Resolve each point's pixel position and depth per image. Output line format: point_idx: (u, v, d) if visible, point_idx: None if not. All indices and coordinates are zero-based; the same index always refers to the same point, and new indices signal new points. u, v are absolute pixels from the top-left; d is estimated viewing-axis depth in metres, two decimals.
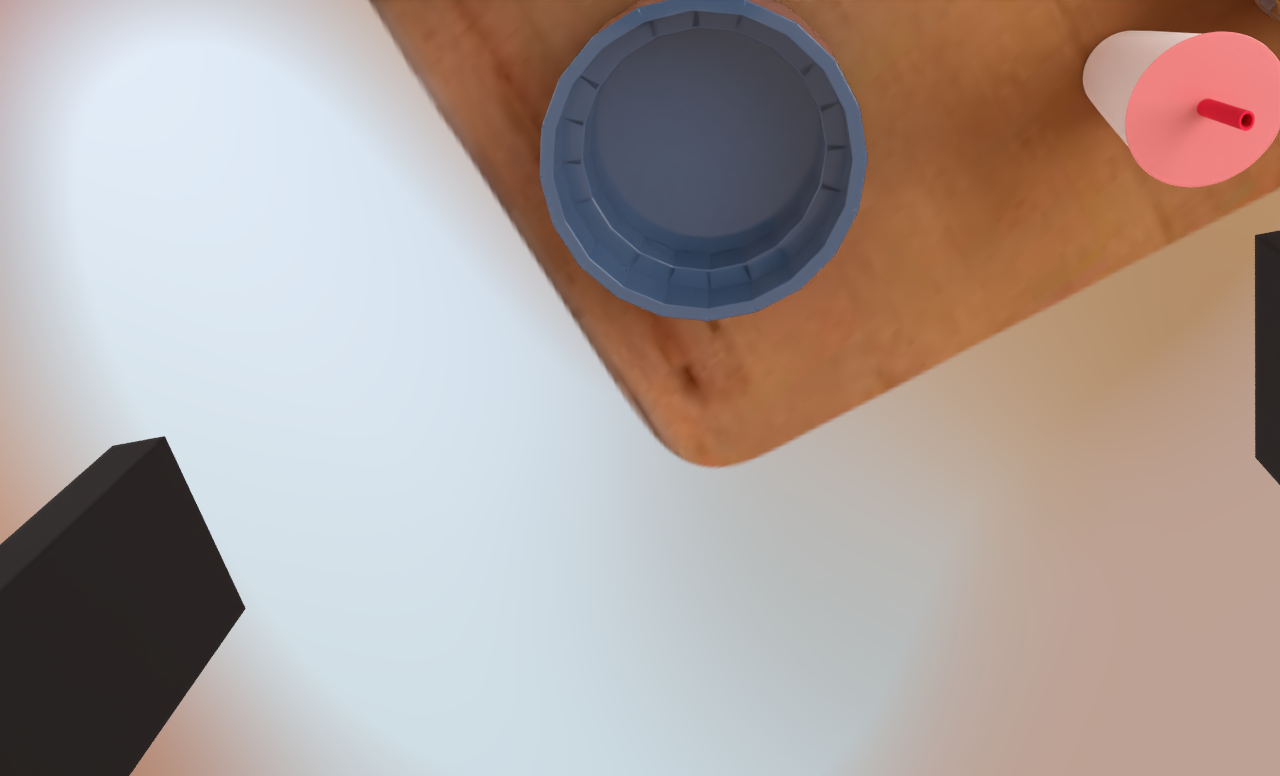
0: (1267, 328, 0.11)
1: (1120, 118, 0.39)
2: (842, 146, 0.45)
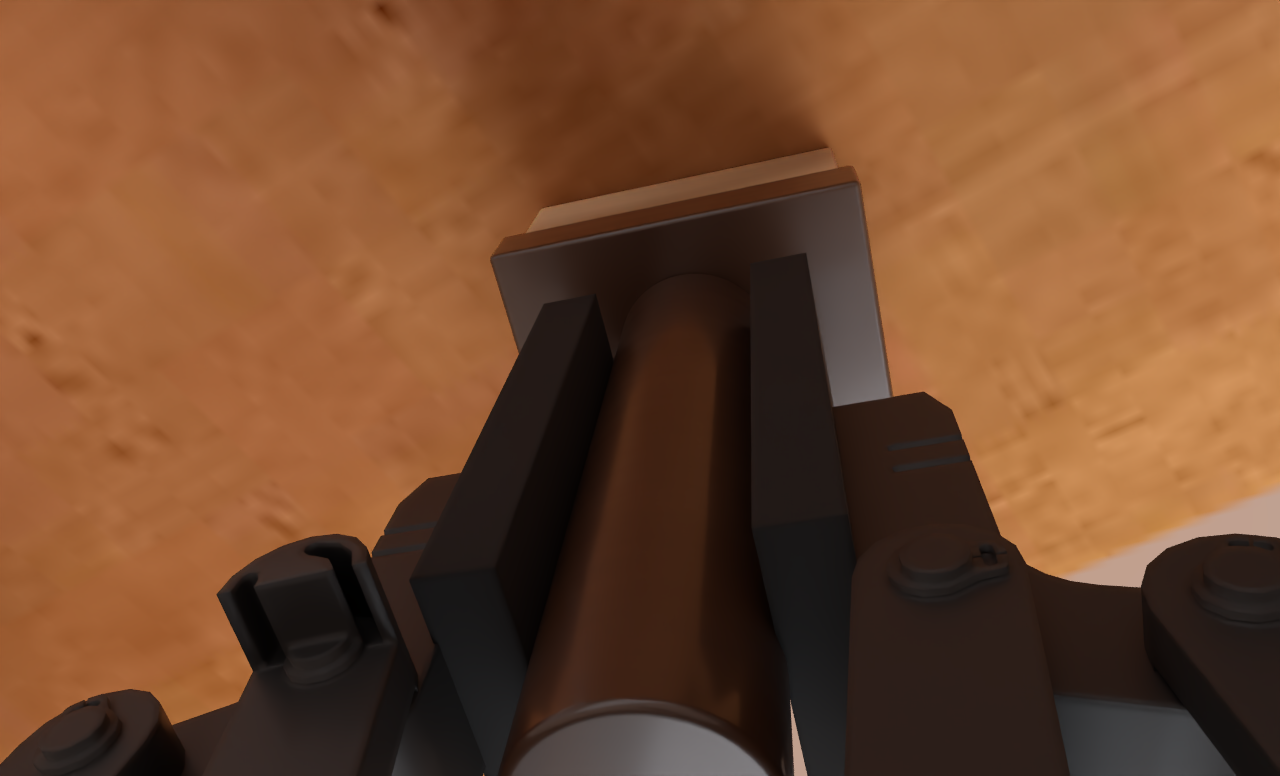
0: None
1: None
2: None
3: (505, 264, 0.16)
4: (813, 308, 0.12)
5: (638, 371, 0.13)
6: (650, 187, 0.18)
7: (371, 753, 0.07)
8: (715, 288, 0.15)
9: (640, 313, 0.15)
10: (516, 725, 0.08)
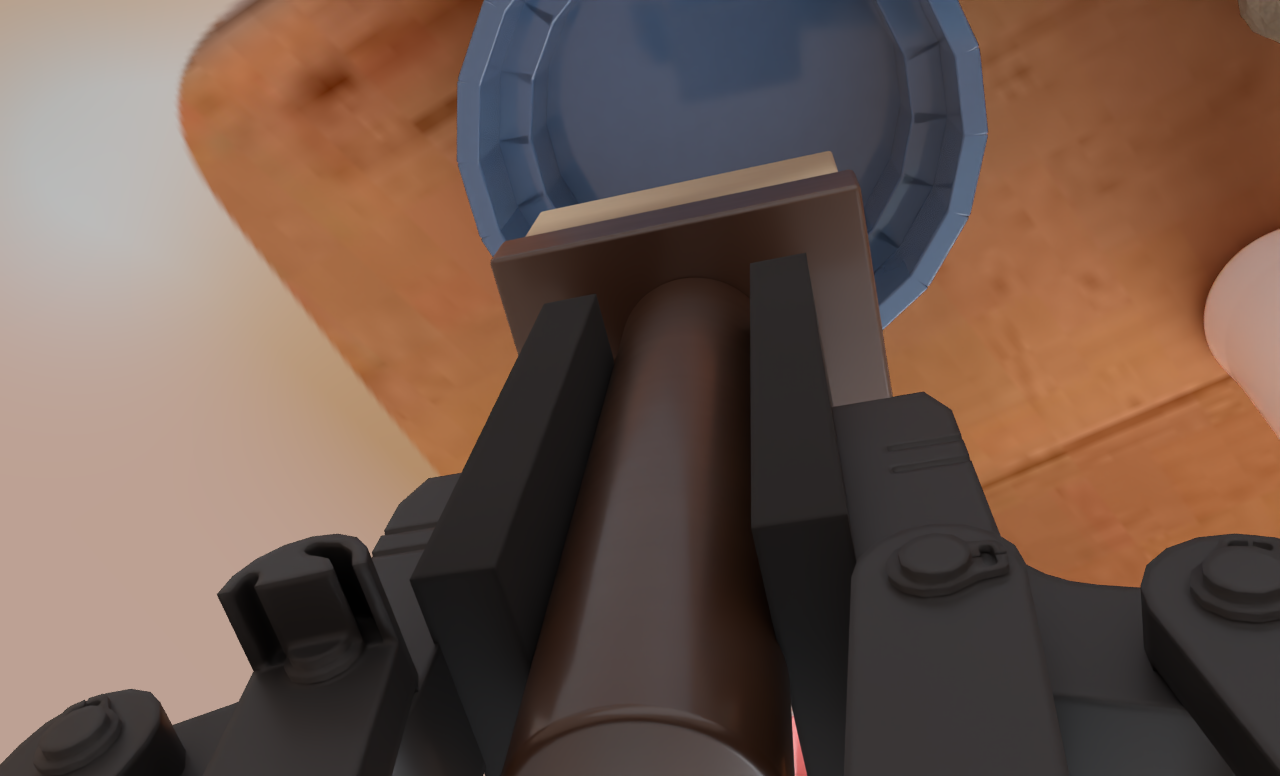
0: None
1: None
2: None
3: (505, 268, 0.16)
4: (813, 308, 0.12)
5: (639, 375, 0.13)
6: (650, 190, 0.18)
7: (373, 753, 0.07)
8: (715, 292, 0.15)
9: (640, 317, 0.15)
10: (518, 731, 0.08)
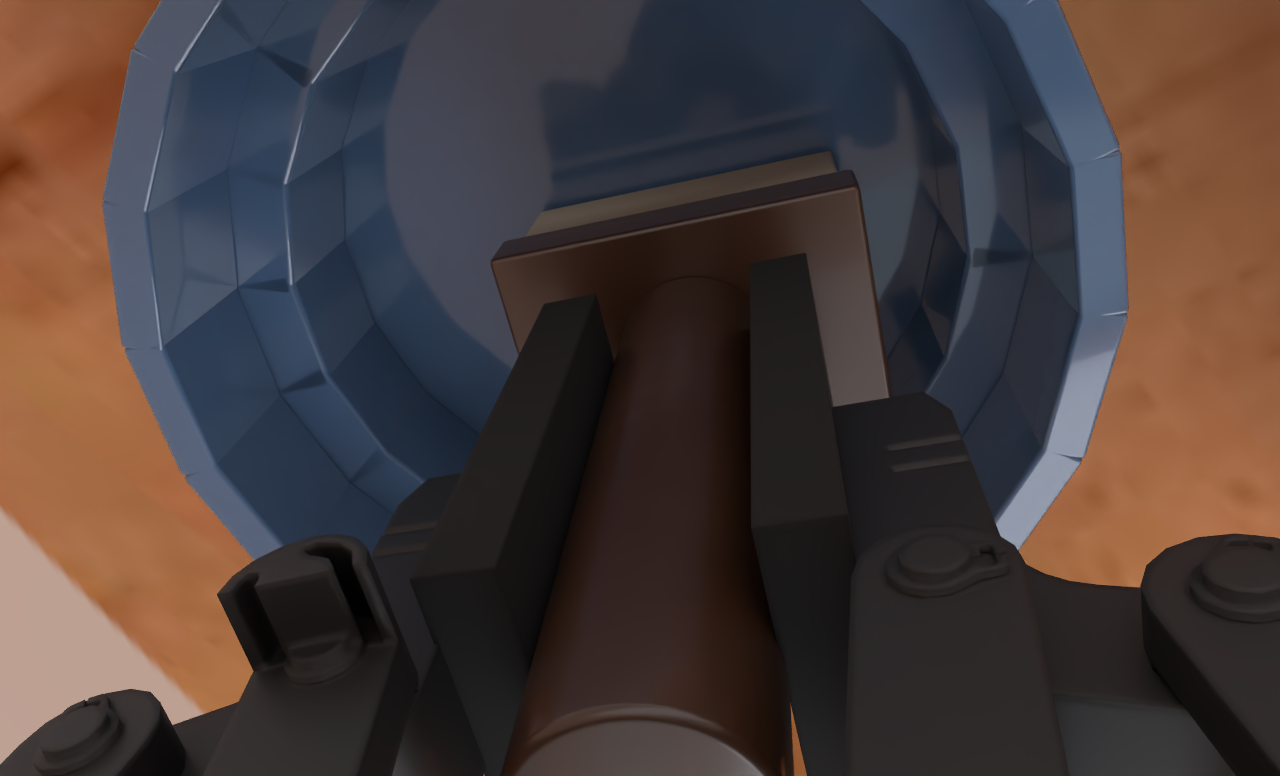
0: None
1: None
2: None
3: (505, 268, 0.16)
4: (812, 308, 0.12)
5: (639, 374, 0.13)
6: (650, 190, 0.18)
7: (373, 753, 0.07)
8: (715, 292, 0.15)
9: (640, 317, 0.15)
10: (518, 730, 0.08)
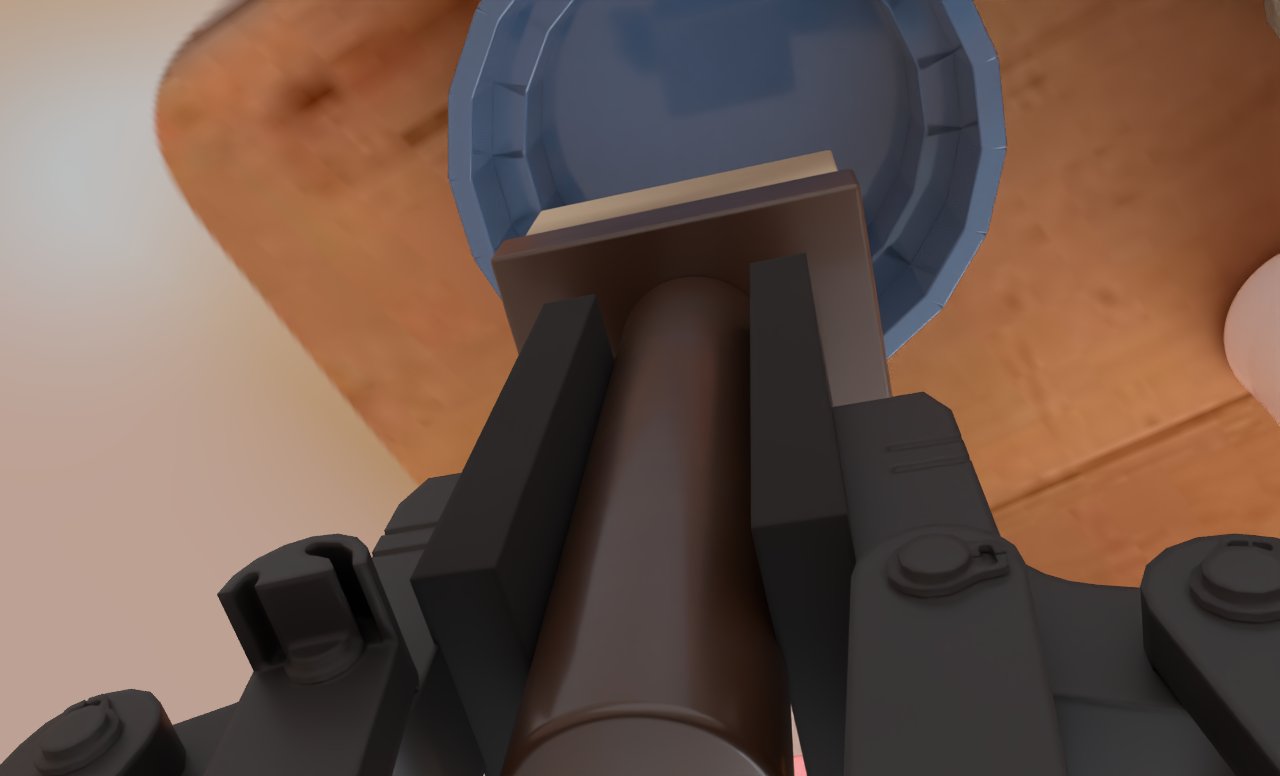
0: None
1: None
2: None
3: (505, 267, 0.16)
4: (813, 308, 0.12)
5: (638, 373, 0.13)
6: (650, 189, 0.18)
7: (373, 752, 0.07)
8: (715, 291, 0.15)
9: (640, 316, 0.15)
10: (520, 728, 0.08)
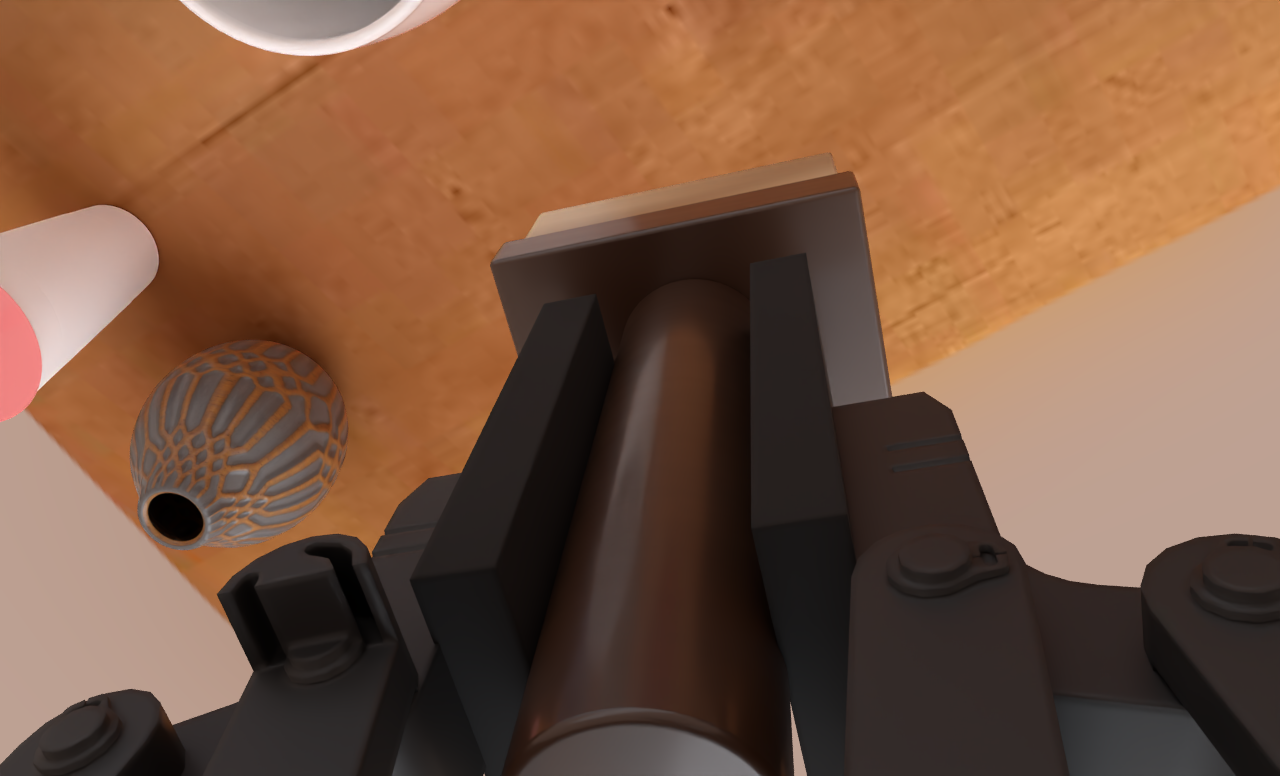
0: None
1: None
2: None
3: (505, 269, 0.16)
4: (813, 308, 0.12)
5: (638, 376, 0.13)
6: (650, 192, 0.18)
7: (371, 754, 0.07)
8: (715, 294, 0.15)
9: (640, 319, 0.15)
10: (518, 735, 0.08)
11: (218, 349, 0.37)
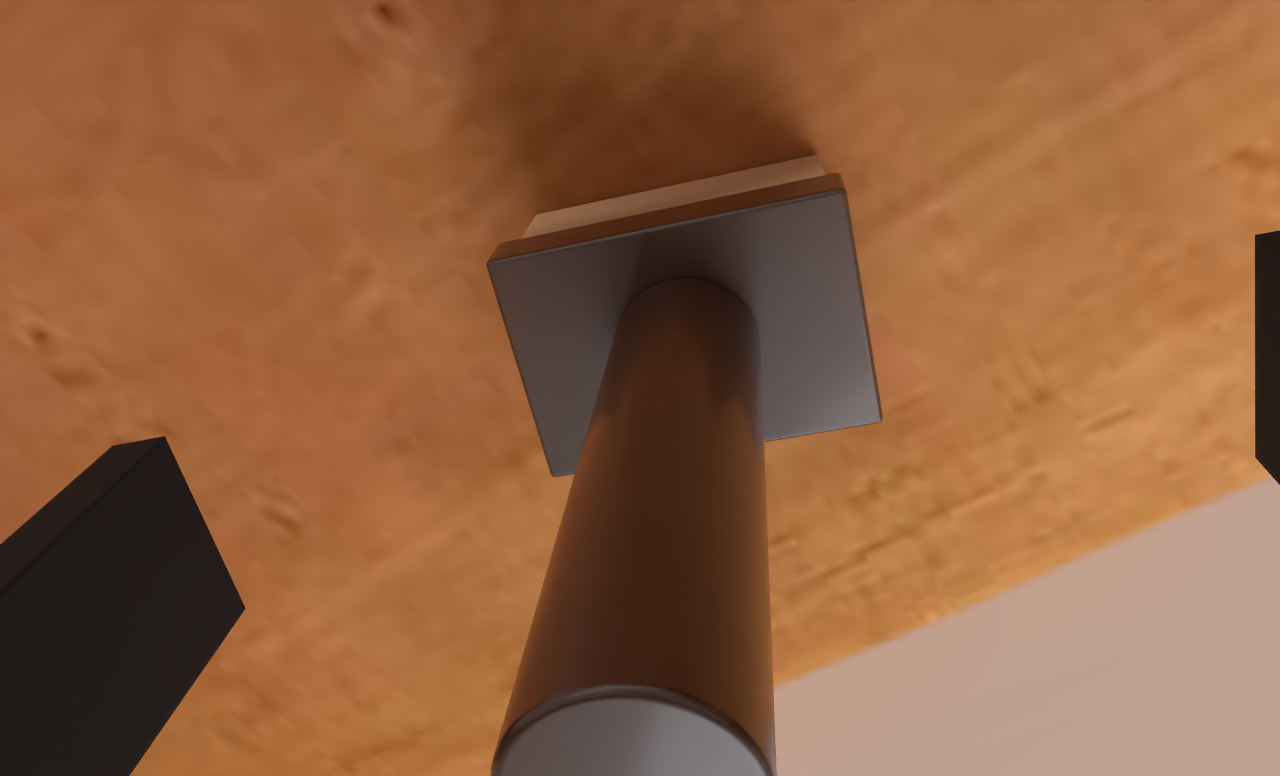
0: (1267, 328, 0.11)
1: None
2: None
3: (501, 269, 0.16)
4: None
5: (630, 372, 0.13)
6: (642, 193, 0.18)
7: None
8: (705, 292, 0.15)
9: (632, 317, 0.15)
10: (512, 710, 0.08)
11: None
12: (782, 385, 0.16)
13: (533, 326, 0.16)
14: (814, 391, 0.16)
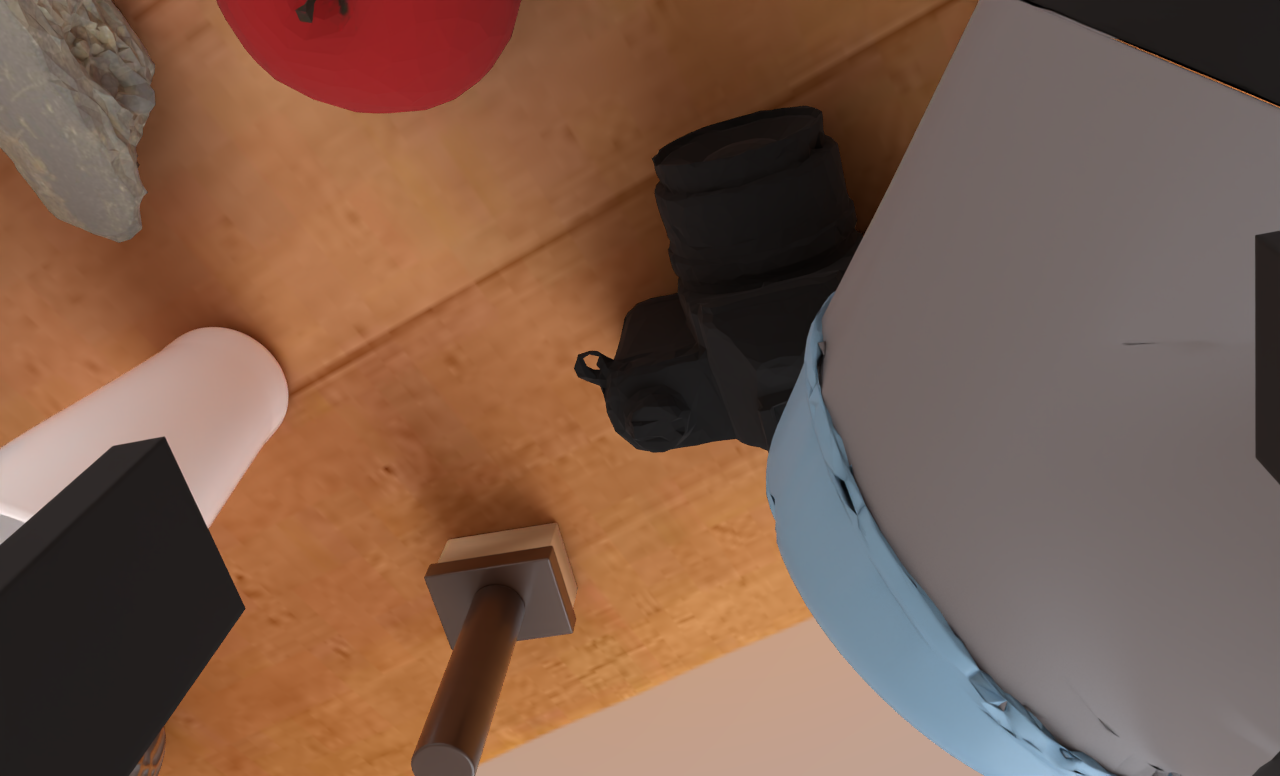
0: (1267, 328, 0.11)
1: None
2: None
3: (429, 579, 0.43)
4: None
5: (465, 635, 0.41)
6: (489, 535, 0.46)
7: None
8: (500, 593, 0.43)
9: (474, 603, 0.43)
10: (415, 748, 0.36)
11: None
12: (534, 620, 0.44)
13: (442, 598, 0.44)
14: (546, 622, 0.44)
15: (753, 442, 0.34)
